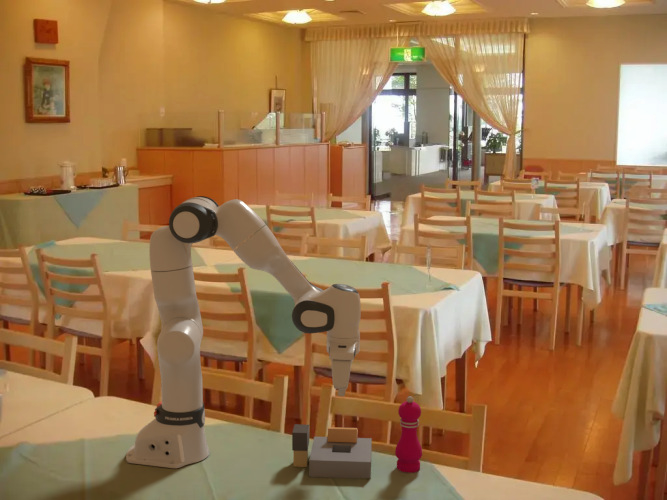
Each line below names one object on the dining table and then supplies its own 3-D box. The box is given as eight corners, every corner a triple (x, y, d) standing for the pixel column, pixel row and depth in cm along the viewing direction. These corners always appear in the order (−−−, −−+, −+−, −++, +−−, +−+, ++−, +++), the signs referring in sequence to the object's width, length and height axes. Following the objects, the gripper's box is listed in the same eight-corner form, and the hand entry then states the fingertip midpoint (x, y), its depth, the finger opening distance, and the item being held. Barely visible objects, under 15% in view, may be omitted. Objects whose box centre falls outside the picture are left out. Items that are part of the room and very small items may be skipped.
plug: (292, 468, 217) (292, 432, 215) (294, 459, 222) (294, 424, 221) (307, 468, 216) (307, 433, 215) (309, 459, 222) (309, 424, 221)
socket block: (309, 476, 211) (309, 460, 211) (314, 452, 227) (314, 436, 226) (370, 478, 210) (370, 462, 210) (371, 453, 226) (371, 438, 225)
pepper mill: (420, 474, 213) (422, 402, 210) (393, 472, 214) (394, 399, 211) (423, 463, 220) (425, 393, 217) (396, 461, 221) (398, 391, 218)
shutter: (327, 441, 222) (327, 428, 222) (329, 430, 230) (329, 418, 230) (356, 442, 222) (357, 429, 221) (357, 431, 230) (357, 418, 229)
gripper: (333, 334, 227) (332, 382, 229) (328, 354, 206) (327, 406, 209) (356, 335, 226) (354, 383, 228) (353, 356, 206) (352, 408, 208)
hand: (341, 394), depth 218 cm, fingers closed
